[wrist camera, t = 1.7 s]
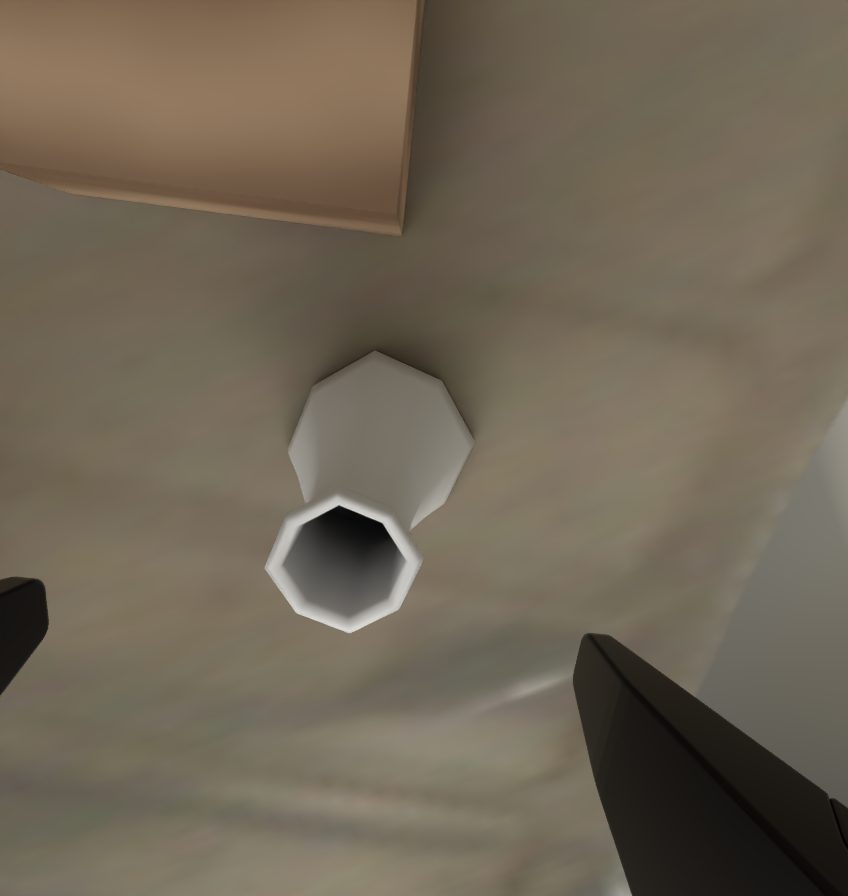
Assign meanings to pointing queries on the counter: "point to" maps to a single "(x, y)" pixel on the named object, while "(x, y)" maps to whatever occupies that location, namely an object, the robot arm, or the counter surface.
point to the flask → (365, 489)
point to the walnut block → (216, 104)
